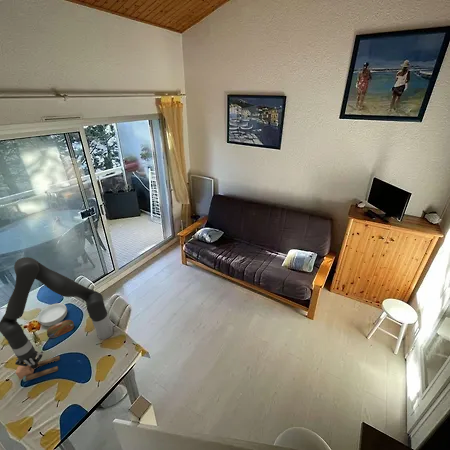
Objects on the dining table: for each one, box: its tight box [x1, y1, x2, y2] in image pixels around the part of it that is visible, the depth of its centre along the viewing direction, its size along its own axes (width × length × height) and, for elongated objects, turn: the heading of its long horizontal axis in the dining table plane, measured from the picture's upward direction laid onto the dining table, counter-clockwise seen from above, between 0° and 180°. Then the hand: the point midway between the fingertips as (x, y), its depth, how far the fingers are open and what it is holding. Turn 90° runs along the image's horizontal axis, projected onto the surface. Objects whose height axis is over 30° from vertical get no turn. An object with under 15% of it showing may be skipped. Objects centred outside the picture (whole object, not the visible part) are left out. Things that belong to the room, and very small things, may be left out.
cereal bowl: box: [37, 302, 68, 327], centre depth 168 cm, size 17×17×7 cm
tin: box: [46, 319, 75, 339], centre depth 159 cm, size 15×3×8 cm, turn 126°
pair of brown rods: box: [22, 355, 61, 383], centre depth 140 cm, size 16×9×2 cm, turn 113°
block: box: [15, 365, 35, 380], centre depth 136 cm, size 6×4×6 cm, turn 114°
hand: (35, 367), depth 138 cm, fingers closed
